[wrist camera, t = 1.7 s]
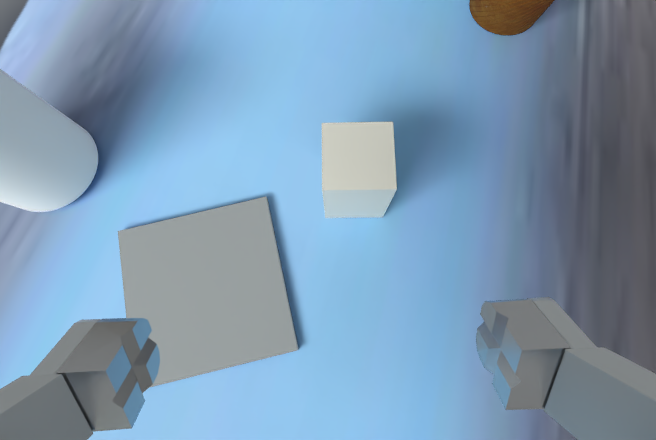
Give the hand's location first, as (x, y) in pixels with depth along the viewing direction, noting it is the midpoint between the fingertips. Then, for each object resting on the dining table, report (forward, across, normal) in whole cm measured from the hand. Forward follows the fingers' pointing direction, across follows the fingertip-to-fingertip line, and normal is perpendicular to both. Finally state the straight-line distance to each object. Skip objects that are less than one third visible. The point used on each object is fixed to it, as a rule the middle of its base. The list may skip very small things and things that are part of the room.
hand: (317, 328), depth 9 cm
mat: (+16, -9, -11) cm, 21 cm away
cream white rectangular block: (+21, +3, -5) cm, 21 cm away
